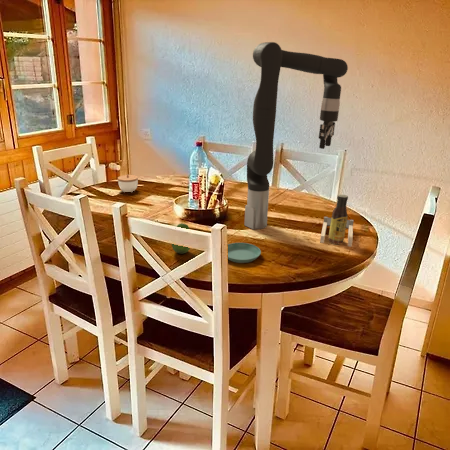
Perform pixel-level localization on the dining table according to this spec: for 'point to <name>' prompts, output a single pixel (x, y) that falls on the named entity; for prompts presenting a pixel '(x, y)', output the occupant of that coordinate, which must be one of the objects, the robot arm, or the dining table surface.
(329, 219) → the grey flat block
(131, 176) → the lidded jar
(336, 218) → the sauce bottle
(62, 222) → the dining table surface
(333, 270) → the dining table surface
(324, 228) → the channel
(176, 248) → the avocado
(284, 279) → the dining table surface
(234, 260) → the saucer
